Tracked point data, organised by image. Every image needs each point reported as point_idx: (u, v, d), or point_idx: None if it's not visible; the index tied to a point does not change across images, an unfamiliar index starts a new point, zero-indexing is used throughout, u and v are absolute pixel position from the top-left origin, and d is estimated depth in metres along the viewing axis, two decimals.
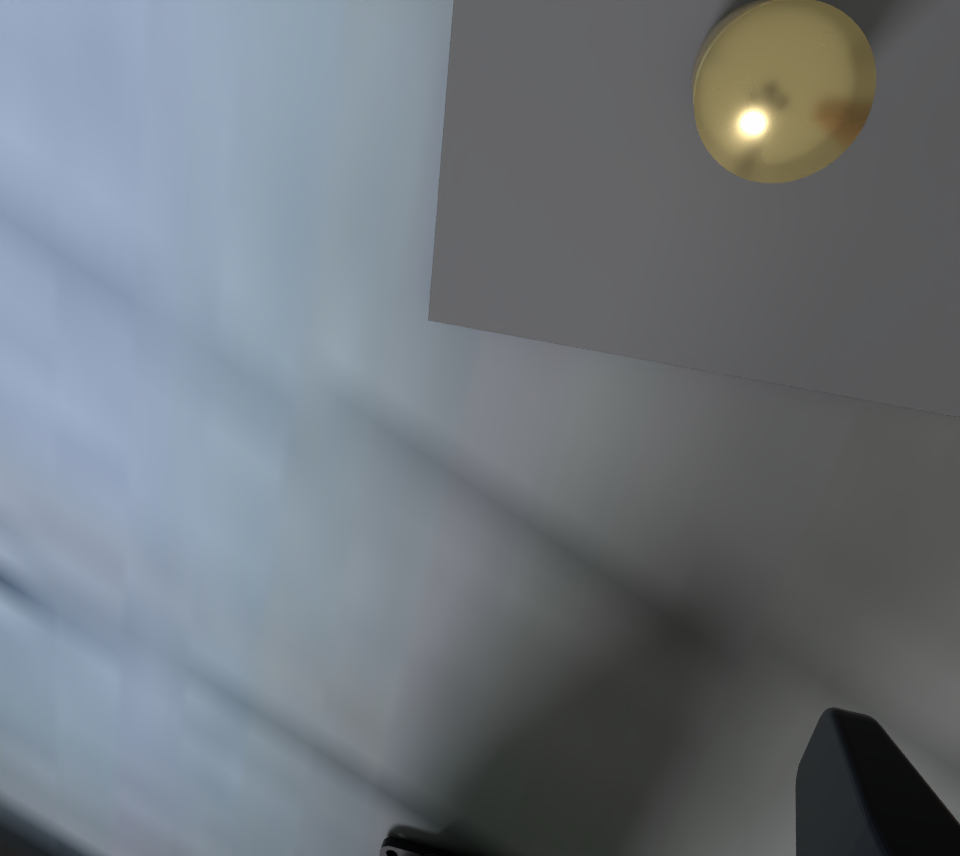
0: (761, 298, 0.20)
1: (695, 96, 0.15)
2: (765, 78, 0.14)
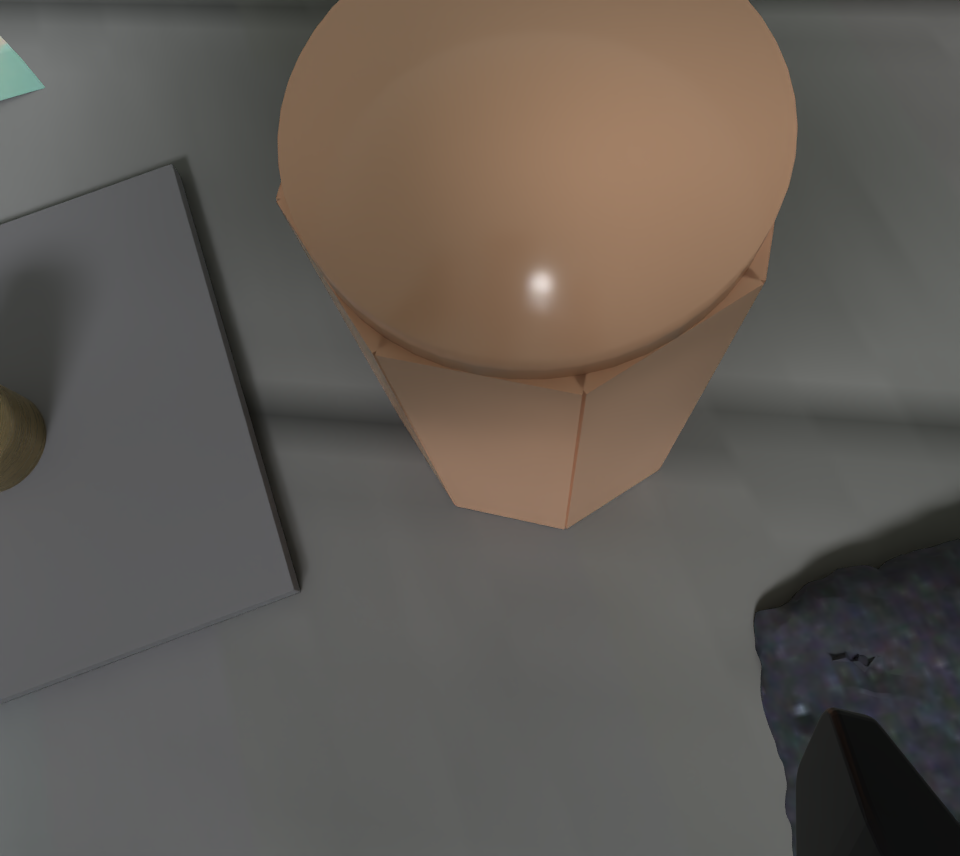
0: (70, 589, 0.22)
1: None
2: None
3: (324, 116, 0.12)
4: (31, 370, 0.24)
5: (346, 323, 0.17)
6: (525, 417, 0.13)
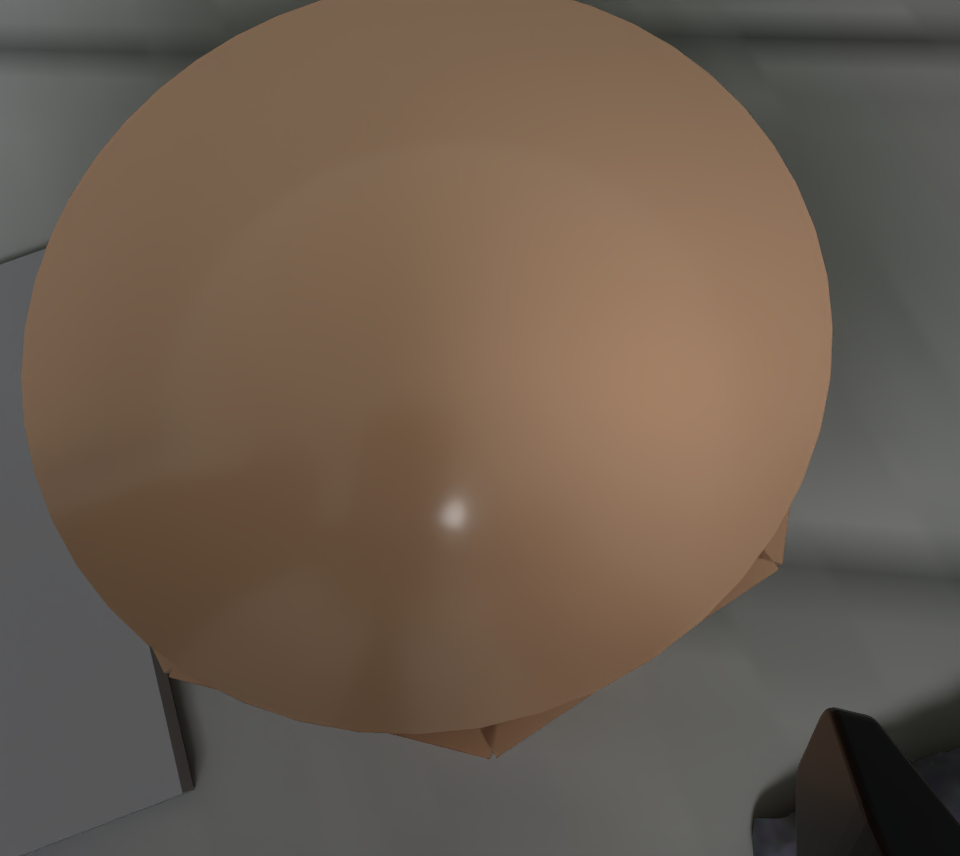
0: None
1: None
2: None
3: (98, 296, 0.08)
4: None
5: None
6: None
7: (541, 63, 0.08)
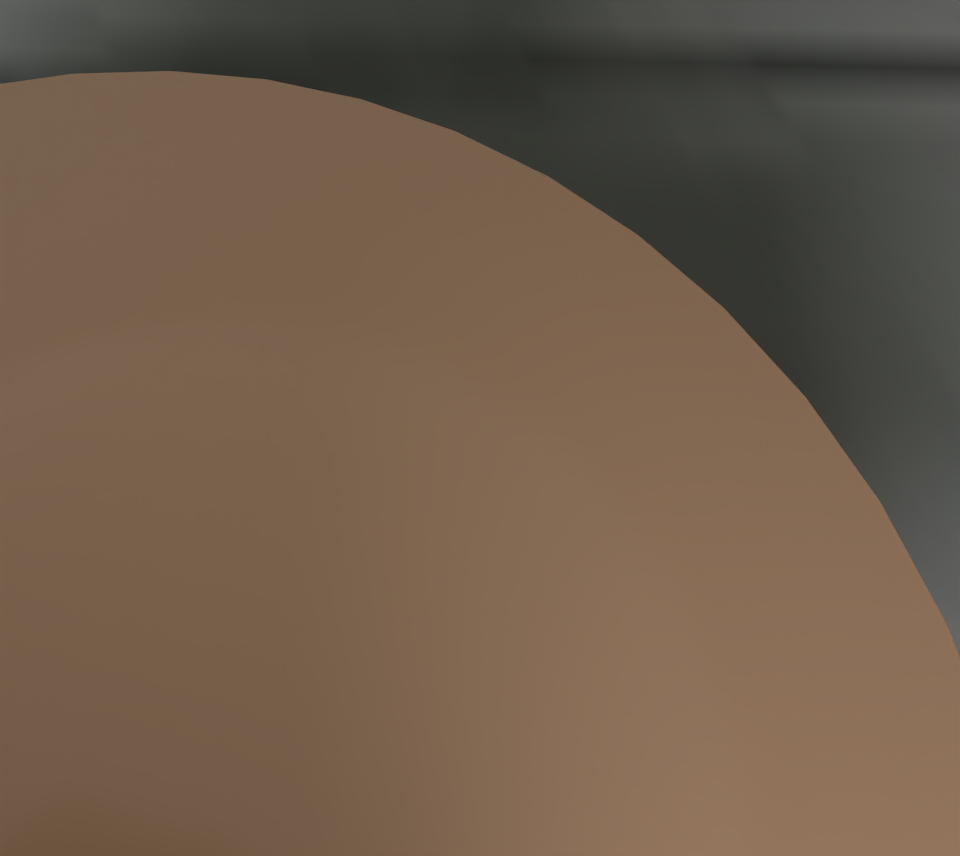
0: None
1: None
2: None
3: None
4: None
5: None
6: None
7: (335, 271, 0.04)
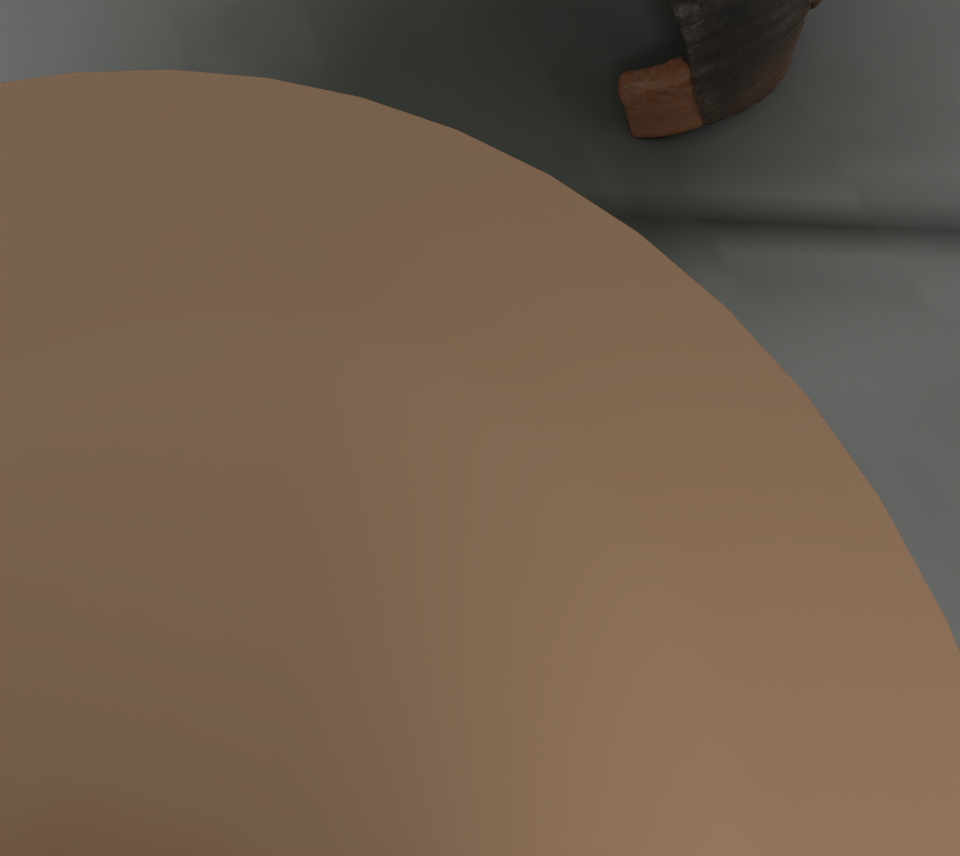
0: None
1: None
2: None
3: None
4: None
5: None
6: None
7: (336, 269, 0.04)
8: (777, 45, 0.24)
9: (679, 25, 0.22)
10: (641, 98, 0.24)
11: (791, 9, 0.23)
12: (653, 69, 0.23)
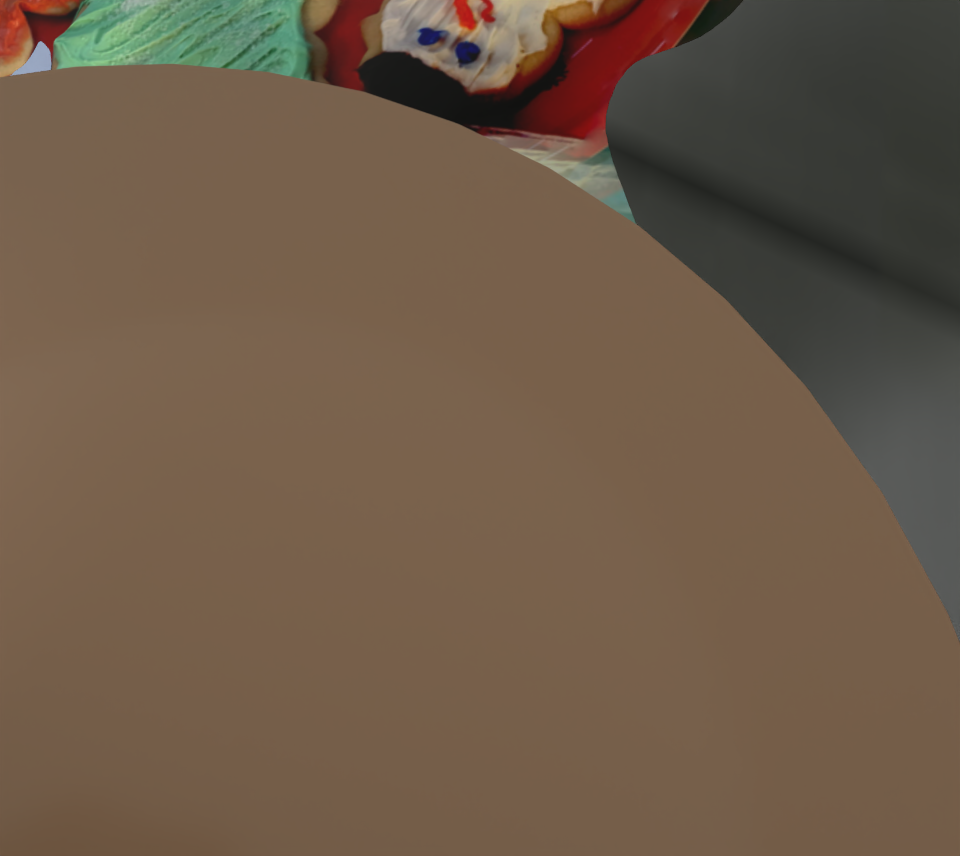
0: None
1: None
2: None
3: None
4: None
5: None
6: None
7: (337, 263, 0.04)
8: None
9: None
10: None
11: None
12: None
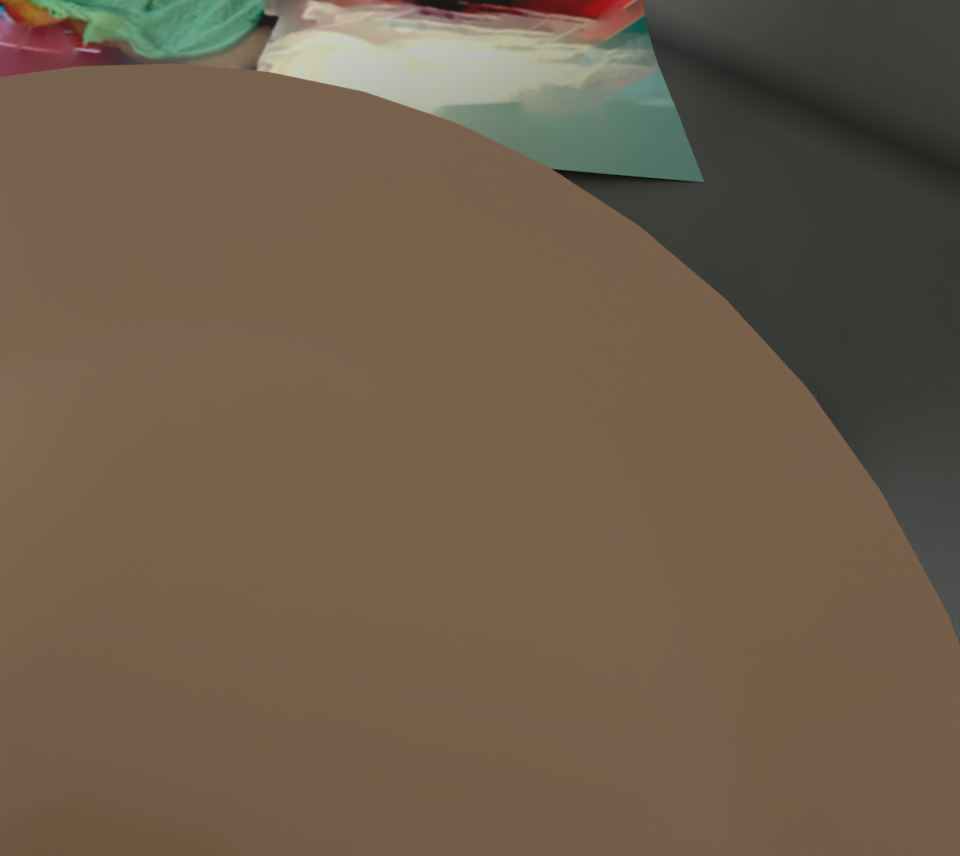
0: None
1: None
2: None
3: None
4: None
5: None
6: None
7: (337, 262, 0.04)
8: None
9: None
10: None
11: None
12: None
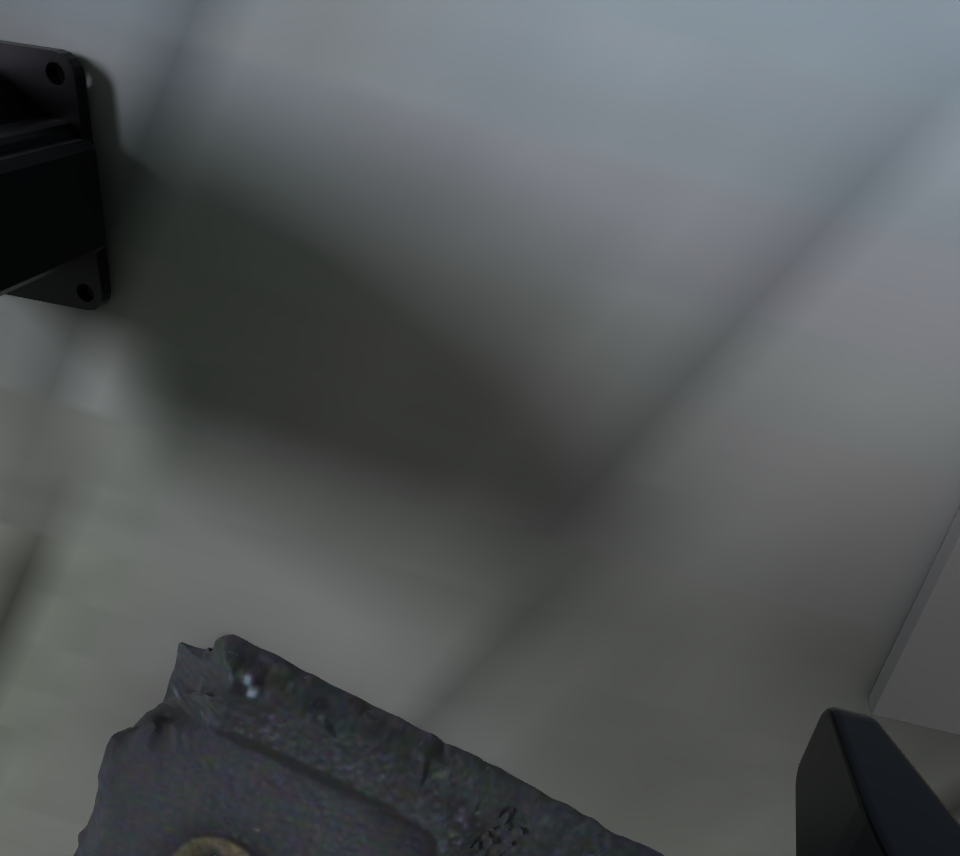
0: None
1: None
2: None
3: None
4: None
5: None
6: None
7: None
8: None
9: None
10: None
11: None
12: None
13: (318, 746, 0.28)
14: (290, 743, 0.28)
